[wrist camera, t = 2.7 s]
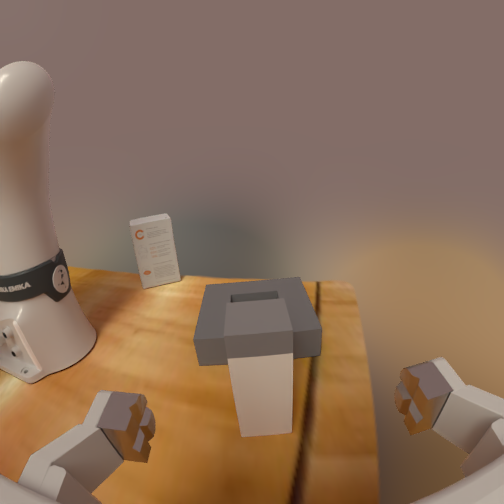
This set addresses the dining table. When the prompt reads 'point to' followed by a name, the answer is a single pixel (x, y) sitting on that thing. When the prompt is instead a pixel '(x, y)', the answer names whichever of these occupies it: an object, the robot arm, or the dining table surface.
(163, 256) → the small box
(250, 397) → the plug
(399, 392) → the robot arm
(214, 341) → the socket block
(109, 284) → the dining table surface
